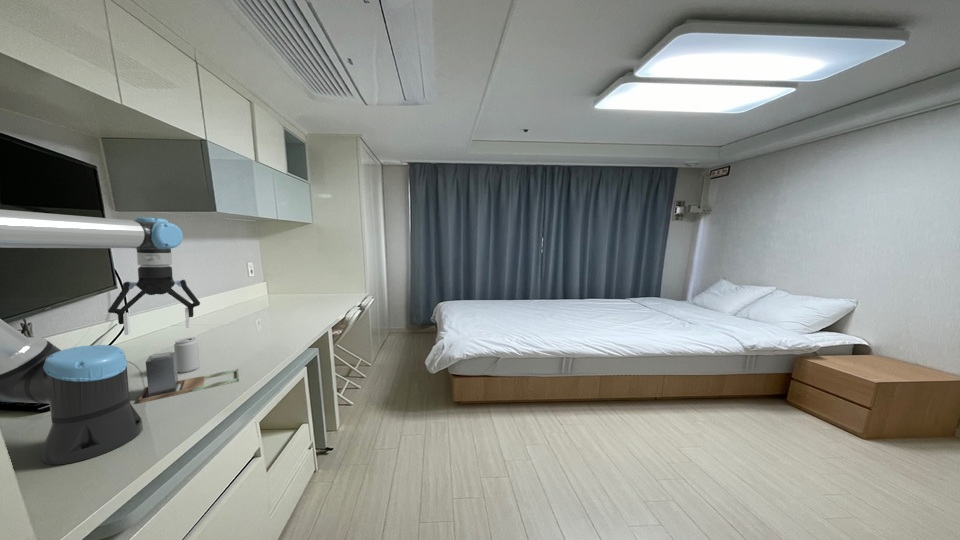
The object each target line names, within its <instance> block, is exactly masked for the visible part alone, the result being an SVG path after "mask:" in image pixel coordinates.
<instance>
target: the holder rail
mask: <svg viewBox="0 0 960 540" xmlns="http://www.w3.org/2000/svg"><path fill="white" fill-rule="evenodd" d="M234 372H235V373H236V378H232V379H228V380H223V381H218V382H214V383H209V384H205V385H204V383H205V379H210V378H215V377H216V378H217V377H219V376H225V375H228V374H234ZM239 376H240V375H239V368H235V369H230V370H226V371H221V372H216V373H212V374H206V375H200V376H195V377H191V378H186V379H181V380H178V384H179V385H181V384H183V385H182V388H181V390H177V391H176V392H171V393H166V394H162V395H157V396H152V397H149V396H148V397H145V396H146V393H147V391H148V386H146V387H144V388H143V390H142V392H141V394H140V395H139V398H137V404H140V403H141V404H142V403H147V402H150V401H154V400H160V399H163V398H168V397H173V396H178V395H181V394H188V393H192V392H195V391H199V390H206V389H210V388H214V387H218V386H222V385H223V384H224V385H226V384H227V383H228V384H232V383H231V382H233V383H236V382H235V381H237V382H239V381H240V377H239ZM228 384H227V385H228Z"/></svg>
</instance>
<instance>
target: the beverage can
mask: <svg viewBox="0 0 960 540" xmlns="http://www.w3.org/2000/svg"><path fill="white" fill-rule="evenodd" d="M173 347H174V348H173V349H174V352H176V360H177V372H178V374H186V373H191V372H193V371H195V370H197V369H199V367H200V355H199V354H200V353H199V341H198V340H197V337H184V338H180V339H178V340H177V339H176V340H175V343H174V345H173Z"/></svg>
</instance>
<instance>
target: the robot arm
mask: <svg viewBox="0 0 960 540" xmlns="http://www.w3.org/2000/svg"><path fill="white" fill-rule="evenodd" d="M183 240H184V235H183V231H182V230H181V228H180V227H178V226H177V224H175V223H171V222H169V220H168V219H165V218H159V217H157V218H156V217H147V216H146V217H145V216H144V217H136V218H134V220H131V219H119V218H107V217H105V218H104V217H97V216H96V217H94V216H85V215H84V216H83V215H73V214H71V215H70V214H62V213H61V214H60V213H45V212H38V211H37V212H36V211H35V212H34V211H23V210H13V209H11V210H9V209H0V248H5V249H6V248H9V249H11V248H12V249H13V248H14V249H17V248H20V249H21V248H22V249H25V248H26V249H31V248H32V249H39V248H41V249H64V248H65V249H135V250H136V253H137V254H136V257H137V265H138V266H139V267H138V268H137V275H138V276H137V277H138V278H137V279H138V280H137V281H136V282H134V281H133V282H132V281H124V282H123V283H122V289H121V291H120V293H118V296H116V299H115V300H114V301H113V302H112V304H111V305H110V307H109V308H108V310H107V312H108V313H109V314H116V315H117V321H118V325H123V333H124V336H127V335H129V334H130V333H131V327H130V326H131V324H130V312H127V310H129V309H130V308H131V307H132V306H133V305H134V304H135V303H137V302H138V301H139V300H140V299H142V297H143V296H145V294H146V295H149V296H155V295H165V294H168V295H170V296H171V297H173V298H174V299H176V300H177V301H178V302H179V303H181V304H182V305H184V306H185V309H184V312H185V316H184V317H185V328H186V329H188V328H190V318H193V317H194V308H196V307H199V306H200V305H201V301H200V300H199V299H198V297H196V295H195V294H194V293H193V292H192V290H191V289H190V287H188V285H187V280H186V279H180V280H174V279H173V267H172V266H171V265H172V263H173V261H172V259H173V258H172V249H175V248H177V247H179V246H180V245H181V244H182V242H183ZM175 285H177V286H178V287H180V288H181V289H182V291H183V292H185V294H186V295H187V297H188V298H189V300H191V302H190V301H189V300H187V299H186V298H184V296H182V295H181V294H179V292H177V291H175V290H174V289H173V287H174V286H175ZM134 287H137V288H139V290H141V291H139V292H138V293H137V294H136V295H134V297H133V298H131V299H130V300H129V301H128V302H127V303H126V304H125V305H124V306H122V307H121V308H119V306H120V305H121V304H122V302H123V300H124V299H125V298H126V296H127V295H128V293H129V292H130V290H132V289H134ZM130 397H131V396H130V388H129V378H128V360H127V358H126V355H125V352H124V350H123V349H122V348H120V347H118V346H114V345H111V344H110V345H109V344H96V345H82V346H76V347H70V348H66V349H62V350H61V349H60V348H59V347H57V346H56V345H54V344H53V343H52V342H50V341H49V340H47V339H46V338H44V337H41V336H33V337H30V336H29V337H27V336H26V335H24V333H22V332H20V331H19V330H17V329H16V328H14V326H11V325H10V324H8V323H7V322H5V321H4V320H3V319H1V318H0V402H3V403H4V402H5V403H31V404H33V403H34V404H47V405H49V410H50V417H51V426H50V428H49V432H48V434H47V435H46V439H45V440H44V441H45V442H44V444H43V447H42V449H41V457H42V463H44V464H46V465H50V466H51V465H52V466H55V465H57V466H58V465H67V464H71V463H76V462H80V461H84V460H89V459H91V458H95V457H98V456H100V455H103V454H106V453H108V452H111V451H113V450H115V449H117V448H120V447H122V446H124V445H125V444H127V443H129V442H131V441H132V440H134V439H135V438H136V437H138V436H139V435H140V434H141V433H142V431H143V429H144V428H143V427H144V426H143V419H142V417H141V416H140V415H139V414H138V412H137V411H136V409H135V408H134V407H133V405H132V404H131V399H130Z"/></svg>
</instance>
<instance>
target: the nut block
mask: <svg viewBox="0 0 960 540" xmlns="http://www.w3.org/2000/svg"><path fill="white" fill-rule="evenodd" d="M145 367H146V370H145V372H146V380H147V381H146V382H147V387H148V390H147V391H148V397H152V396H157V395H162V394H166V393H171V392H176V391H178V389H179V386H180V384H178V381H179V372H177V360H176V352H175V351H174V352H171V351H168V352H161V353H155V354H153V355H149V357H148V358H147V359H146V361H145Z"/></svg>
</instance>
